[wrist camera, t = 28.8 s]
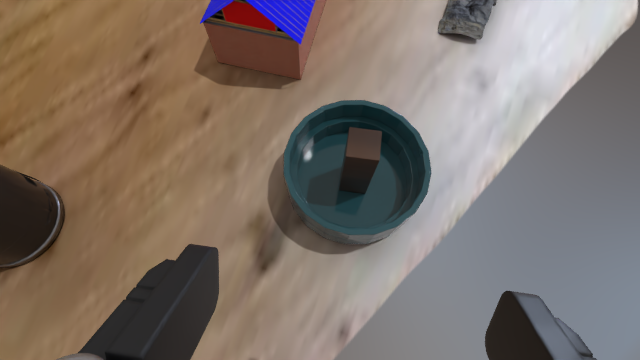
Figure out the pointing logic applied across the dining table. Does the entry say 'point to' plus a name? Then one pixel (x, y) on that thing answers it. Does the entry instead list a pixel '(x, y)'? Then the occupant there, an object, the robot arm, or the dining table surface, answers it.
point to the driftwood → (466, 17)
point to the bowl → (326, 163)
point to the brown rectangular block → (360, 159)
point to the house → (263, 33)
